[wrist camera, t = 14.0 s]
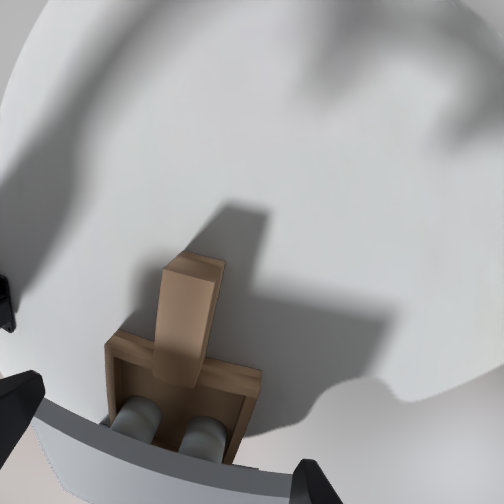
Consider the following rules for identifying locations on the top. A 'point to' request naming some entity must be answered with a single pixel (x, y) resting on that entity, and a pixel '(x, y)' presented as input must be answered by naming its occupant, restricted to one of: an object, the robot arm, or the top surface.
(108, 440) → the grey piece
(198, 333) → the walnut tray
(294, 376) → the top surface
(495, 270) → the top surface
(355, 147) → the top surface
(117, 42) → the top surface
